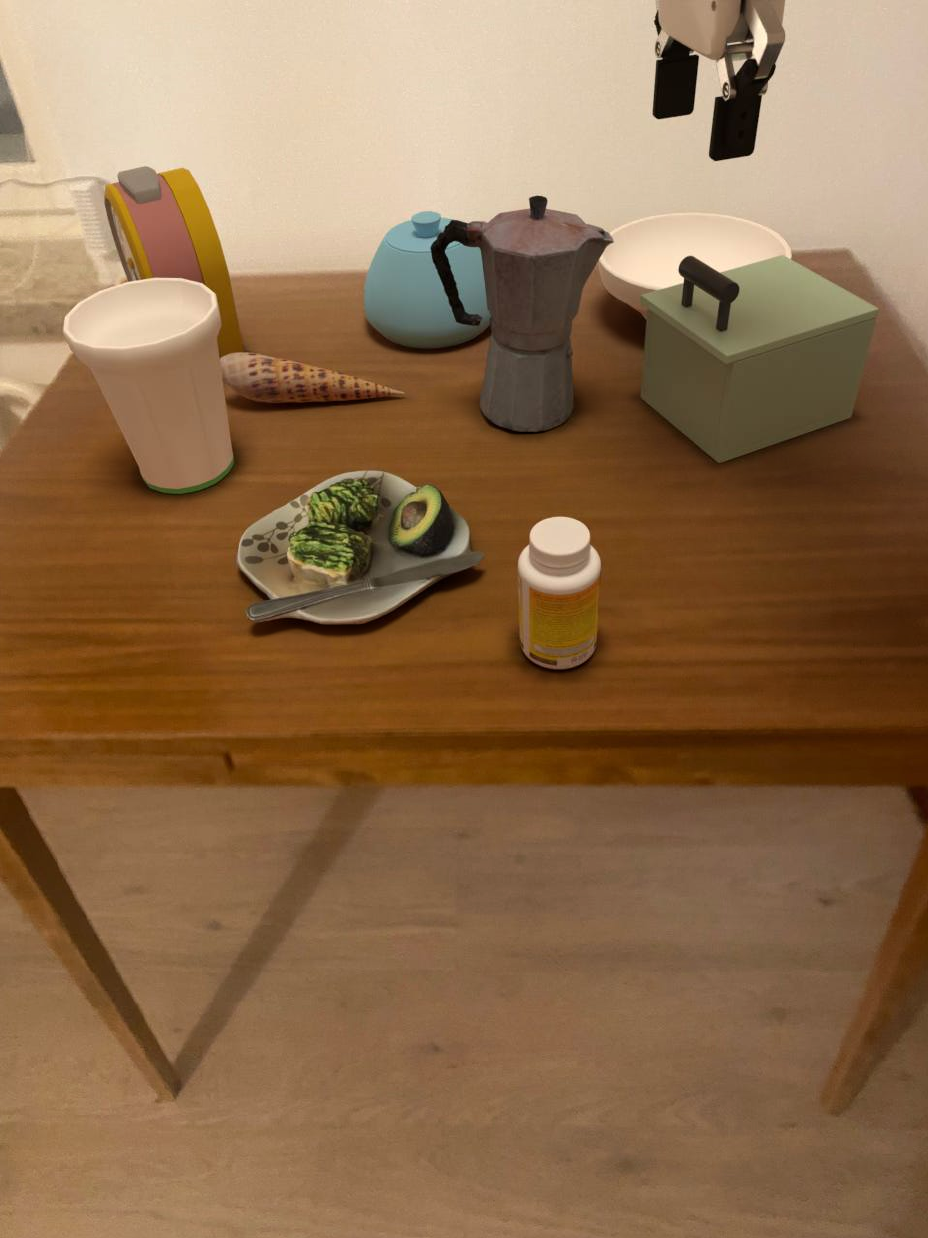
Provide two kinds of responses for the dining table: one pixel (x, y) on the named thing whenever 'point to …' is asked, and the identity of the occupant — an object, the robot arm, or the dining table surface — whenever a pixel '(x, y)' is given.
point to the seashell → (293, 381)
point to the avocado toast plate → (353, 549)
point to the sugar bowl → (423, 287)
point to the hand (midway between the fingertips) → (700, 135)
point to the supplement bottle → (559, 594)
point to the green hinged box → (752, 387)
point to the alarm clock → (171, 238)
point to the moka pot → (526, 307)
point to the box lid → (754, 306)
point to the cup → (159, 376)
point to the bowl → (680, 251)
